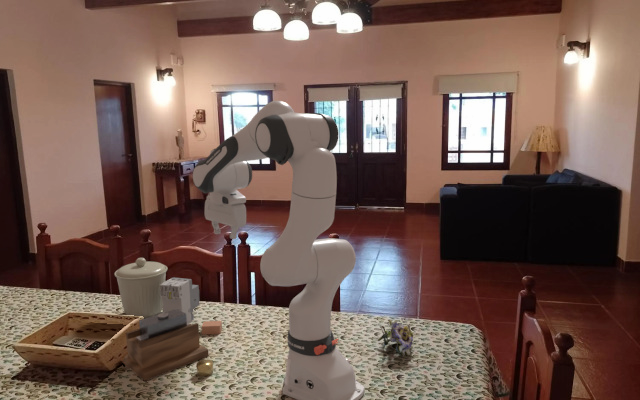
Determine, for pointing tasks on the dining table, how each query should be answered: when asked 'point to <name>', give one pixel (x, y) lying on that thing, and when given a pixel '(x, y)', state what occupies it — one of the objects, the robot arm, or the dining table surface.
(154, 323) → the slider plate with knob
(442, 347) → the dining table surface
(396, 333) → the passion flower
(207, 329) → the terracotta block
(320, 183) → the robot arm
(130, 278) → the canister
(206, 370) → the brass knob
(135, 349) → the stand
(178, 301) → the circuit breaker
